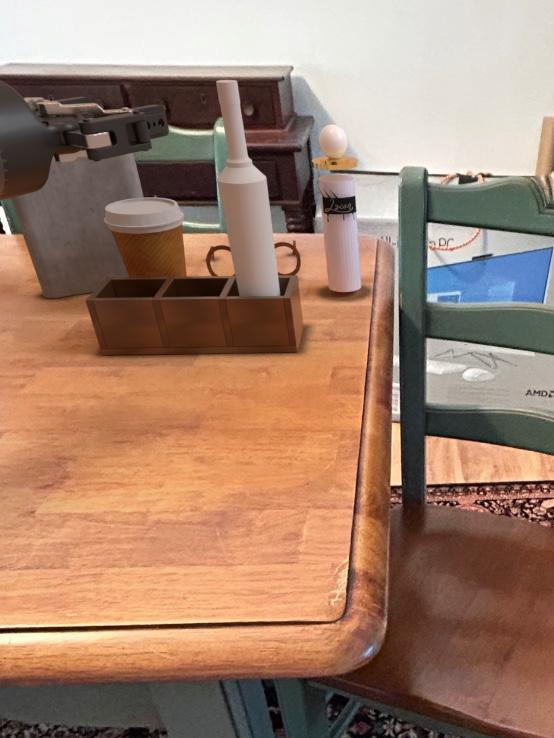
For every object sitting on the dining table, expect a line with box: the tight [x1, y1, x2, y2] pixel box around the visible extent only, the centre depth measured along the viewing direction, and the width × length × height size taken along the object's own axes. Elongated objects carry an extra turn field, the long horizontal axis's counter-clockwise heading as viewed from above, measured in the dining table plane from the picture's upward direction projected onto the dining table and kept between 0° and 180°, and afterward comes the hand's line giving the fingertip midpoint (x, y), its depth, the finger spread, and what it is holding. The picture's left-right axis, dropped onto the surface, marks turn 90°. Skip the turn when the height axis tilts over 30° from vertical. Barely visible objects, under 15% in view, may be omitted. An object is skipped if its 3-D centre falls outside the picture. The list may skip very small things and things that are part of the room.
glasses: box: [205, 239, 302, 276], centre depth 109 cm, size 13×13×5 cm
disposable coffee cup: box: [104, 197, 188, 277], centre depth 95 cm, size 10×10×12 cm
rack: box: [85, 274, 305, 356], centre depth 87 cm, size 23×8×6 cm, turn 93°
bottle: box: [215, 79, 280, 296], centre depth 81 cm, size 5×5×25 cm
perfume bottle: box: [311, 123, 362, 293], centre depth 97 cm, size 6×6×20 cm
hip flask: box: [9, 153, 145, 299], centre depth 97 cm, size 16×4×20 cm, turn 114°
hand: (126, 115), depth 64 cm, fingers open, 8 cm apart
